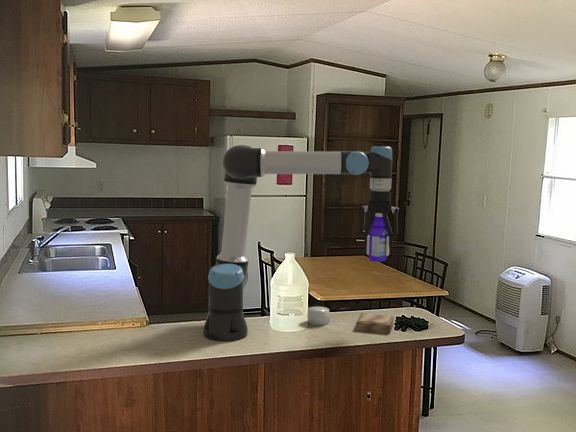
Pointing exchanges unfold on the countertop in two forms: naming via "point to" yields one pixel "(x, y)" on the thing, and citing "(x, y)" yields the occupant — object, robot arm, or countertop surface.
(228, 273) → the robot arm
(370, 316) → the base
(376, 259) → the bottle
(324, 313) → the grey rounded block
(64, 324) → the countertop surface
